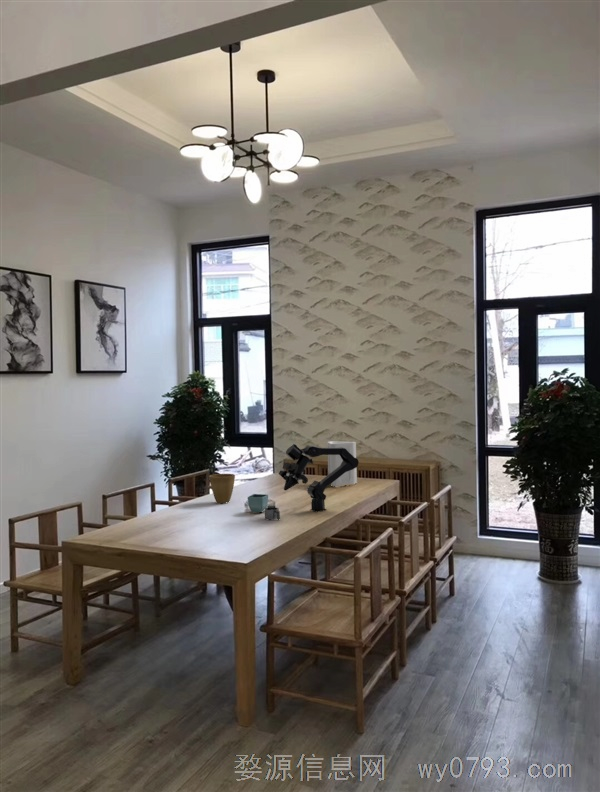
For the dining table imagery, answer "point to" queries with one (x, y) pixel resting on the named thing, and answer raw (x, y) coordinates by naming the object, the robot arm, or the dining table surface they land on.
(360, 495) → the dining table surface
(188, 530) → the dining table surface
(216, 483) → the plant pot
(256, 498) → the flower pot
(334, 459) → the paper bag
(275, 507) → the dark round piece
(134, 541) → the dining table surface
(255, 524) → the dining table surface
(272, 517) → the grey octagonal mug
